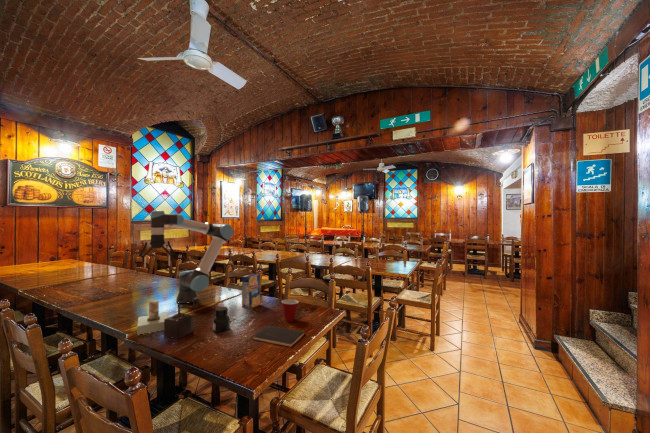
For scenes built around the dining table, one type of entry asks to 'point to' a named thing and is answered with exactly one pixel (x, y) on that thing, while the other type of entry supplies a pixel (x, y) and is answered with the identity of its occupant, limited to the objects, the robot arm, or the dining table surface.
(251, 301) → the blue yellow cereal box
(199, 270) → the robot arm
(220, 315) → the ink bottle
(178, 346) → the dining table surface
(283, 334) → the hardcover book
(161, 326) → the board
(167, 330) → the dark boxy piece
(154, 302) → the peg
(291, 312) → the plastic cup
